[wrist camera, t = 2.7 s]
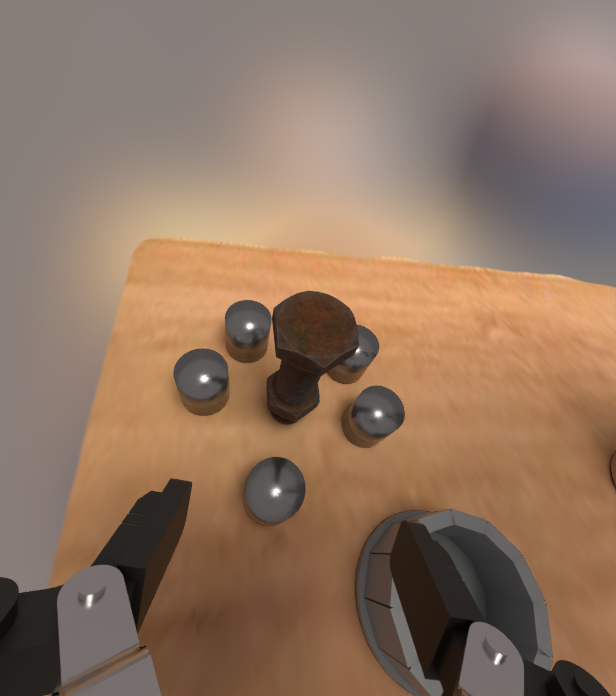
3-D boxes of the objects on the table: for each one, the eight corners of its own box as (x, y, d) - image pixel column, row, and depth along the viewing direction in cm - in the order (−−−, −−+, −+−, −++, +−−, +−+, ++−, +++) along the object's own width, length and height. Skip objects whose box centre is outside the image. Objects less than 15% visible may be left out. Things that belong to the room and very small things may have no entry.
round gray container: (408, 482, 31) (442, 469, 26) (517, 591, 27) (580, 601, 22) (324, 596, 25) (347, 609, 20) (450, 751, 22) (515, 813, 17)
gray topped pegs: (291, 296, 40) (297, 266, 36) (410, 405, 35) (434, 386, 31) (146, 387, 31) (131, 362, 26) (280, 555, 26) (289, 556, 21)
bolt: (276, 448, 30) (305, 377, 17) (247, 406, 32) (254, 313, 19) (323, 414, 33) (377, 331, 20) (294, 377, 34) (327, 278, 22)
